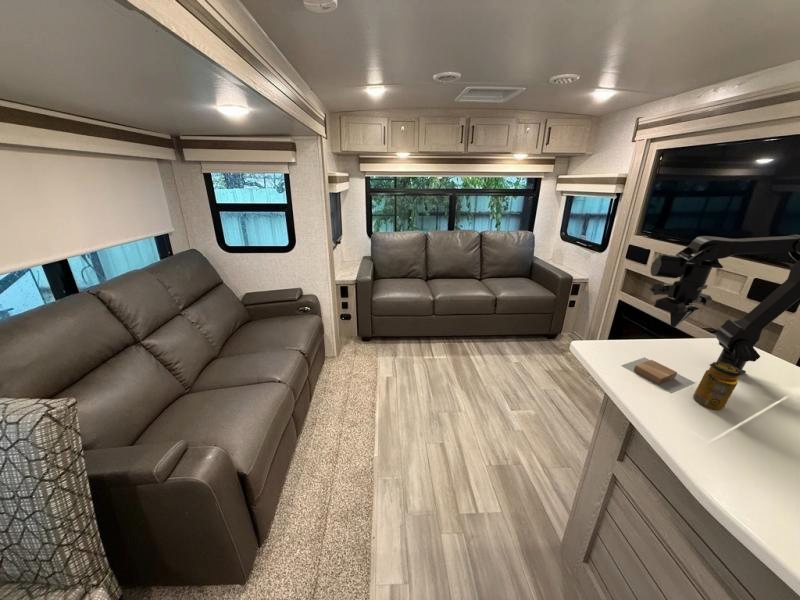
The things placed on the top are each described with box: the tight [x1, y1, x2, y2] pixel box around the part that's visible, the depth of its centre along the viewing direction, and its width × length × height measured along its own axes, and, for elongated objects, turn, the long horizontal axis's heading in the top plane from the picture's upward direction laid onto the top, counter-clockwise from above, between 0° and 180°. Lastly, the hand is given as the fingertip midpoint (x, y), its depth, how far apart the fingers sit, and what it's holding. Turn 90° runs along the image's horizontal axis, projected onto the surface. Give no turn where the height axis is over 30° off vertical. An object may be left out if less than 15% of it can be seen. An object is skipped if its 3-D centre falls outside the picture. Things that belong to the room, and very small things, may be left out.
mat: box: [620, 357, 696, 394], centre depth 93 cm, size 12×14×1 cm
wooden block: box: [634, 359, 678, 384], centre depth 92 cm, size 2×7×8 cm
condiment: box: [692, 361, 741, 411], centre depth 80 cm, size 7×8×12 cm
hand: (673, 326), depth 97 cm, fingers closed
